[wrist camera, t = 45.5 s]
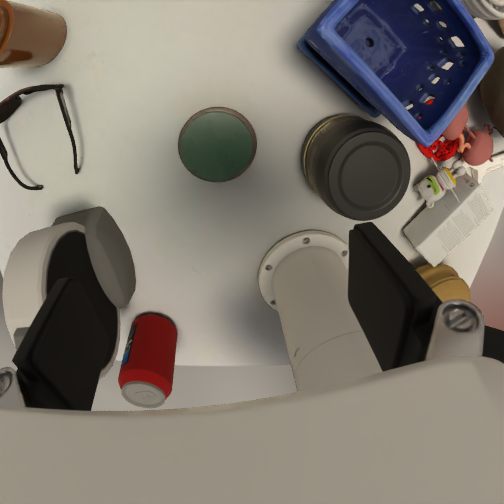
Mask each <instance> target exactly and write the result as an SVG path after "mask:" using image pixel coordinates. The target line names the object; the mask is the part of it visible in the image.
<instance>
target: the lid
mask: <svg viewBox="0 0 504 504" xmlns="http://www.w3.org/2000/svg"><path fill="white" fill-rule="evenodd" d="M251 136H252V135H251V133H250V132H249V130H248V128H247V127H246V125H245V123H244V121H242V120H240V119H239V118H238V117H237V116H235V115H234V114H233V113H232V114H231V113H228V112H225V111H220V110H219V111H210V112H207V113H206V112H205V113H204V114H202V115H200V116H198V117H197V118H195V119H193V120H192V122H191V123H190V124H189V126H188V127H187V129H185V131H184V134H183V137H182V141H181V145H180V146H181V154H182V158H183V160H184V162H185V164H186V166H187V167H188V168H189V169H190V170H191V171H192V172H193V173H194V174H195V175H197V176H199V177H201V178H203V179H206V180H210V181H222V180H226V179H230V178H232V177H234V176H236V175H237V174H239V173H240V172H241V171H242V170H243V169H244V168H245V167H246V165H247V164H248V162H249V160H250V158H251V155H252V149H253V142H252V137H251Z"/></svg>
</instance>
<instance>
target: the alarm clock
mask: <svg viewBox="0 0 504 504" xmlns="http://www.w3.org/2000/svg"><path fill="white" fill-rule="evenodd" d="M67 277H73V278H74V279H75V280H78V281H79V282H80V284H81V286H82V288H83V290H84V292H85V294H86V296H87V298H88V300H89V301H90V303H91V305H92V307H93V309H94V311H95V313H96V314H97V316H98V318H99V320H100V322H101V323H102V325H103V327H104V329H105V330H106V332H107V334H108V336H109V346H108V349H107V353H106V356H105V359H104V363H103V366H102V370H101V373H100V377H99V379H101V378H103V377H105V375H106V374H107V373H108V371H109V370H110V369H111V367H112V366H113V363H114V361H115V358H116V355H117V352H118V346H119V341H120V308H123V307H126V306H127V305H128V303H129V301H130V299H131V297H132V295H133V293H134V291H135V283H136V279H135V270H134V264H133V260H132V257H131V253H130V250H129V247H128V245H127V243H126V241H125V239H124V236H123V234H122V232H121V231H120V229H119V228H118V226H117V224H116V223H115V221H114V220H113V218H112V217H111V216H110V215H109V213H108V212H107V211H106V210H105V209H104V208H102V207H96V208H92V209H88V210H84V211H80V212H77V213H73V214H69V215H66V216H62V217H58V218H57V219H56V220H55V222H54V223H53V225H52V226H51V227H47V228H44V229H40V230H37V231H33V232H30V233H29V234H27V235H26V236H24V237H23V238H22V239H20V240H19V242H18V243H17V245H16V246H15V248H14V249H13V251H12V252H11V254H10V257H9V260H8V263H7V266H6V269H5V272H4V283H3V305H4V313H5V320H6V323H7V327H8V330H9V333H10V336H11V339H12V341H13V344H14V345H15V347H16V349H17V350H18V348H19V346H20V344H21V342H22V340H23V338H24V336H25V334H26V332H27V331H28V329H29V327H30V325H31V323H32V322H33V320H34V318H35V316H36V314H37V313H38V311H39V309H40V308H41V306H42V304H43V302H44V301H45V299H46V297H47V296H48V294H49V293H50V291H51V289H52V288H53V286H54V284H55V283H56V281H57V280H58V279H62V278H67Z"/></svg>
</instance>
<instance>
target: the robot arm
mask: <svg viewBox="0 0 504 504" xmlns="http://www.w3.org/2000/svg"><path fill="white" fill-rule="evenodd" d="M304 238H305V239H304ZM258 281H259V288H260V292H261V294H262V296H263V298H264V300H265V301H266V302H267V304H268V305H270V306H271V307H272V308H273V309H275V310H277V311H278V313H279V317H280V321H281V325H282V329H283V334H284V338H285V342H286V346H287V350H288V354H289V358H290V362H291V366H292V371H293V375H294V378H295V383H296V387H297V391H298V392H296V393H291V394H286V395H281V396H275V397H269V398H263V399H257V400H251V401H243V402H236V403H229V404H221V405H212V406H202V407H192V408H180V409H164V410H144V411H91V407H92V404H93V399H94V396H95V392H96V388H97V384H98V381H99V377H100V373H101V370H102V366H103V363H104V359H105V356H106V353H107V349H108V346H109V336H108V334H107V332H106V330H105V329H104V327H103V325H102V323H101V322H100V320H99V318H98V316H97V314H96V313H95V311H94V309H93V307H92V305H91V303H90V301H89V300H88V298H87V296H86V294H85V292H84V290H83V288H82V286H81V284H80V282H79V281H78V280H75V279H74V278H73V277H67V278H62V279H58V280H57V281H56V283H55V284H54V286H53V288H52V289H51V291H50V293H49V294H48V296H47V297H46V299H45V301H44V302H43V304H42V306H41V308H40V309H39V311H38V313H37V314H36V316H35V318H34V320H33V322H32V323H31V325H30V327H29V329H28V331H27V332H26V334H25V336H24V338H23V340H22V342H21V344H20V346H19V348H18V350H17V352H16V354H15V356H14V358H13V360H12V361H13V363H14V364H15V365H16V366H17V368H18V370H17V372H16V371H15V370H14V369H13V368H11V367H5V368H2V369H0V504H504V331H502V330H499V329H495V328H492V327H489V326H485V321H484V316H483V314H482V312H481V310H480V309H479V308H478V307H477V306H475V305H474V304H472V303H471V302H468V301H465V300H461V299H451V300H447V301H445V302H442V301H441V300H440V299H439V297H438V296H437V295H436V294H435V292H434V291H433V290H432V289H431V287H430V286H429V285H428V284H427V283H426V281H425V280H424V279H423V278H422V277H421V276H420V274H419V273H418V272H417V271H416V270H415V268H414V267H413V266H412V265H411V264H410V263H409V262H408V260H407V259H406V258H405V257H404V256H403V255H402V254H401V253H400V252H399V251H398V250H397V248H396V247H395V246H394V245H393V244H392V243H391V242H390V241H389V240H388V239H387V237H386V236H385V235H384V234H383V233H382V232H381V231H380V230H379V229H378V228H377V227H376V226H375V225H374V224H373V223H372V222H367V223H362V224H356V225H355V226H354V229H353V230H350V231H349V248H348V247H347V246H346V244H345V243H344V242H343V241H342V240H341V239H339V238H338V237H337V236H335V235H332V234H330V233H327V232H323V231H304V232H299V233H296V234H293V235H291V236H289V237H287V238H285V239H283V240H281V241H280V242H279V243H277V244H276V245H275V246H274V247H273V248H272V249H271V250H270V251H269V252H268V253H267V255H266V256H265V258H264V259H263V261H262V263H261V266H260V269H259V275H258Z"/></svg>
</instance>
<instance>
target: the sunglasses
mask: <svg viewBox="0 0 504 504" xmlns="http://www.w3.org/2000/svg"><path fill="white" fill-rule="evenodd" d="M63 86H64V85H62V84H60V85H53V84H52V85H39V86H32V87H27V88H24V89H21V90H19V91H17V92H15V93H14V94H12V95H10V96H9V97H7V98H6V99H5V100H3V101H2V102H0V123H2V122H4V121H6V120H7V119H8V118H9V117H10V116H11V115H12V114H13V113H14V112H15V110H16V109H17V108H18V107H19V106H20V105H21V103H22V100H21V98H20V97H19V95H21V94H25V95H28V94H31V93H33V92H37V91H44V90H49V89H54V90H55V91H54V94H55V95H56V96H57V98H58V101H59V105H60V108H61V111H62V114H63V118H64V121H65V124H66V127H67V130H68V132H69V135H70V138H71V142H72V147H73V154H74V169H75V174H78V172H79V168H78V167H77V153H76V145H75V140H74V136H73V133H72V130H71V120H70V117H69V113H68V110H67V107H66V103H65V100H64V97H63V90H62V88H63ZM0 154H1V156H2V158H3V160H4V163H5V165H6V167H7V169H8V170H9V172H10V174H11V175H12V177H13V178H14V179H15V180H16V181H17V182H18V183H19V184H20V185H21V186H22V187H23V188H25V189H28V190H42V188H43V187H42V185H38V186H35V187H30V186H27V185H25V184H23V183H22V182H21V181H20V180H19V179H18V178H17V176H16V175H15V174H14V172H13V171H12V169H11V167H10V165H9V163H8V160H7V151H6V149H5V147H4V145H3V142H2V140H1V138H0Z"/></svg>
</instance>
